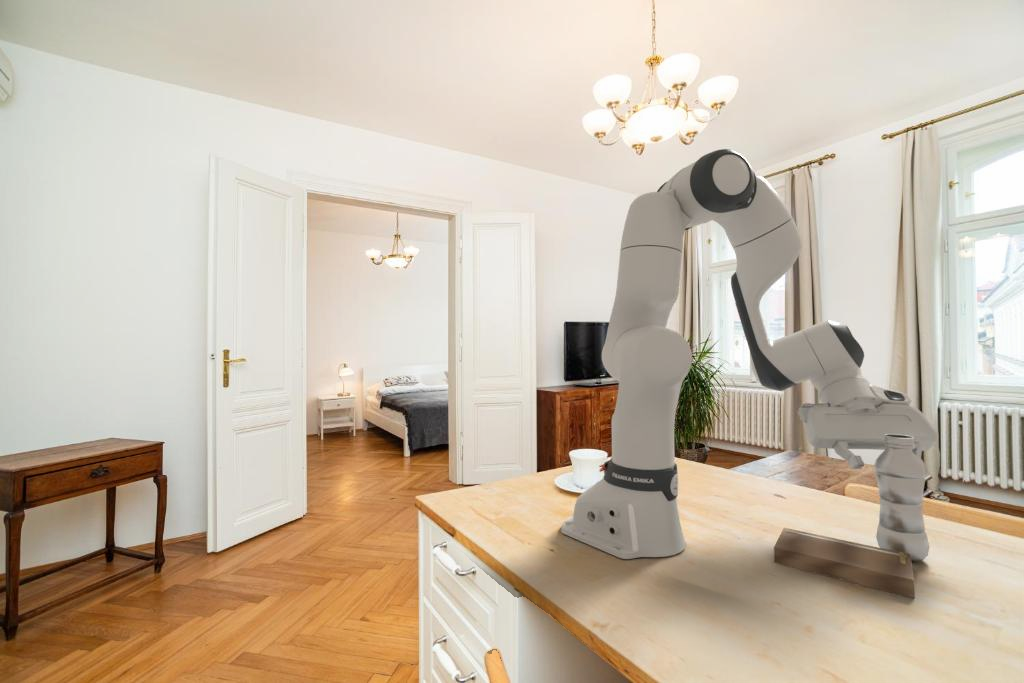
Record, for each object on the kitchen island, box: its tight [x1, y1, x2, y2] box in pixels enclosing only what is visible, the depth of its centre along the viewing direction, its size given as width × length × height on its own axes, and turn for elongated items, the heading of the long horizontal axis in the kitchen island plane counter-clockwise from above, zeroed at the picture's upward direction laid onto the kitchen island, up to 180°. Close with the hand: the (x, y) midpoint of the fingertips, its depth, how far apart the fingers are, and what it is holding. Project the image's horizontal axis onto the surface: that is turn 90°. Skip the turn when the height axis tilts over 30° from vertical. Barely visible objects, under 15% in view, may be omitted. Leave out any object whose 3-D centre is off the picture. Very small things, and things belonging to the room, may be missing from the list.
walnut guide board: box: [773, 527, 916, 599], centre depth 71 cm, size 17×10×3 cm, turn 51°
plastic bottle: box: [873, 434, 930, 562], centre depth 74 cm, size 6×7×20 cm
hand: (888, 468), depth 77 cm, fingers open, 8 cm apart
